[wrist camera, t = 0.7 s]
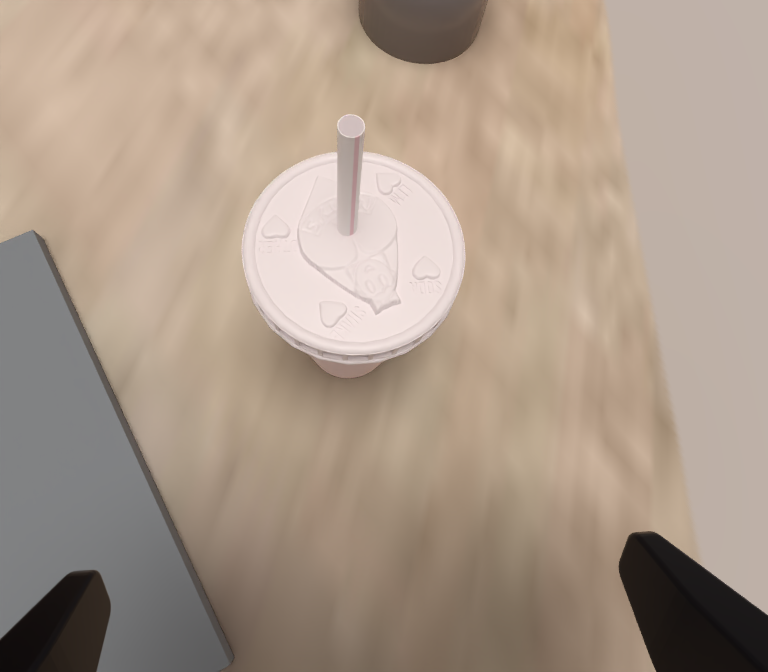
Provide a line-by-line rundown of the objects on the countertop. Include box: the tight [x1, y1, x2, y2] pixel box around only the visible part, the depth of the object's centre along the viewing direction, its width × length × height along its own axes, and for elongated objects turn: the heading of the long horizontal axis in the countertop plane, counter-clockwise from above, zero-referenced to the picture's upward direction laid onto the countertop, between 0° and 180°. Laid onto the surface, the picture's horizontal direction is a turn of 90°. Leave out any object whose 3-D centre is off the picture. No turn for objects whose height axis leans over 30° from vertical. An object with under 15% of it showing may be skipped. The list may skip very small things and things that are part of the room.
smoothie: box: [242, 114, 465, 378], centre depth 17 cm, size 6×6×14 cm
